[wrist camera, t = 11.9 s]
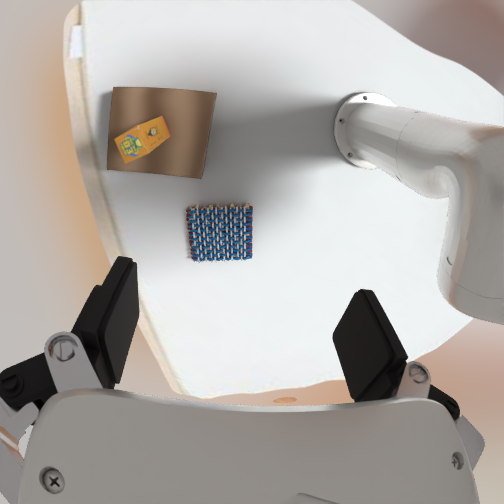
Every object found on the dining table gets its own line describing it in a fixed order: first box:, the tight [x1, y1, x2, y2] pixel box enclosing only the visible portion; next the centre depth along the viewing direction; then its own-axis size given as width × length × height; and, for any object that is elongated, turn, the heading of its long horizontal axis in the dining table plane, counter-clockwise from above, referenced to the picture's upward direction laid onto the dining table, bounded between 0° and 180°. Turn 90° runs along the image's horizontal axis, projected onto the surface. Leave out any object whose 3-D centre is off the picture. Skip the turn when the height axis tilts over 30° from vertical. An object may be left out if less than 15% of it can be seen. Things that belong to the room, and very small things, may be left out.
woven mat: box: [186, 203, 253, 263], centre depth 46 cm, size 10×11×2 cm
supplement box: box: [114, 116, 170, 164], centre depth 29 cm, size 3×3×10 cm
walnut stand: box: [107, 87, 217, 179], centre depth 35 cm, size 14×12×4 cm
